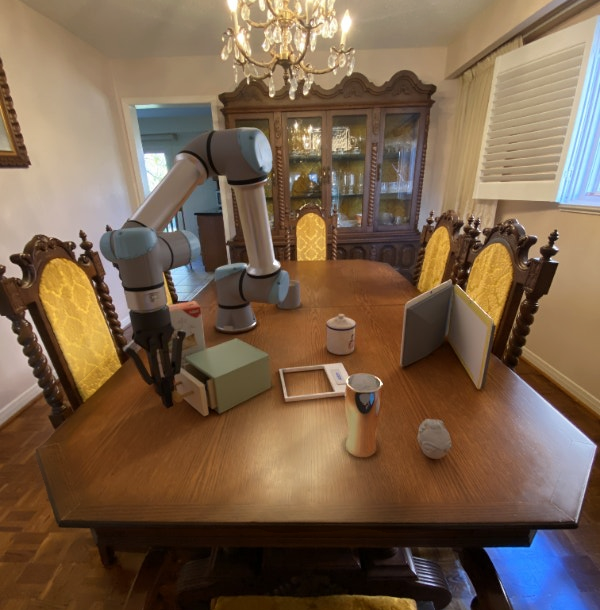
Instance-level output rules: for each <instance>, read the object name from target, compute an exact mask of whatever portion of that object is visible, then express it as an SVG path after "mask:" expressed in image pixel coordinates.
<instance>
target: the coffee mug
mask: <svg viewBox="0 0 600 610" xmlns="http://www.w3.org/2000/svg"><path fill="white" fill-rule="evenodd" d="M300 306H301V283H300V281H298V280H297V279H295V280H294V279H289V288H288V292H287V295H286V297H285V299H284V300H283V302H282V303H280V304H277V307H278V308H279V309H282V310H293V309H297V308H300Z"/></svg>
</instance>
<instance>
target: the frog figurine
mask: <svg viewBox="0 0 600 610" xmlns="http://www.w3.org/2000/svg"><path fill="white" fill-rule="evenodd" d="M416 439H417V441H418V442H417V443H418V445H419V446H420V449H421V451H422V452H423V454H424V455H425V456H426V457H428V458H430V459H433V460H439V459H442V458H444V457H445V456H447V454H449V453H450V449H452V441H451V435H450V433H449V431H448V429H447V427H446V425H445V423H444V421H442V420H441V419H435V418H434V419H433V418H431V419H430V418H426V419H424V420H423V421H422V422H421V423H420V425H419V427H418V434H417V436H416Z"/></svg>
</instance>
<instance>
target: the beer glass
mask: <svg viewBox="0 0 600 610" xmlns="http://www.w3.org/2000/svg"><path fill="white" fill-rule="evenodd" d="M382 408H383V381H382V380H381V378H380V377H378V376H376V375H374V374H371V373H366V372H360V373H357V372H356V373H354V374H351V375H349V377H348V378H347V380H346V389H345V395H344V413H345V418H346V425H347V435H346V439H345V449H346V451H347V452H348V453H349V454H351V455H352V456H354V457H357V458H369V457H371V456H373V455H374V454H375V453H376V451H377V441H376V431H377V427H378V425H379V421H380V418H381V413H382Z"/></svg>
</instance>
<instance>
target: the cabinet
mask: <svg viewBox="0 0 600 610" xmlns="http://www.w3.org/2000/svg"><path fill="white" fill-rule="evenodd" d="M184 358H185V363H188V362H189V363H190V364H191V365H193V366H194V367H196V368H197V369H199V370H200V371H201V372H203V373H204V374H206V375H207V376H209V377H210V378H211V379H213V380H214V388H215V395H216V402H217V407H215V408H213V409H212V410H214V412H216V413H218V414H222V413H225V412H227V411H228V410H230V409H232V408H233V407H236V406H238V405H240V404H243V402H246V401H247V400H250V399H251V398H254V397H255V396H257V395H260V394H262V393H264V392H266V391H268V390H269V389H271V388H272V377H271V375H272V373H271V361H270V360H271V359H270V354H269V353H267V352H265V351H263V350H262V349H259V348H258V347H256V346H253V345H251V344H249V343H247V342H245V341H243V340H241V339H239V338H237V337H235V338H234V339H231V340H227V341H224V342H221V343H220V344H215V345H214V346H211V347H208V348H206V349H205V350H203V351H200V352H197V353H194V354H192V355H189V356H186V357H184Z"/></svg>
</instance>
